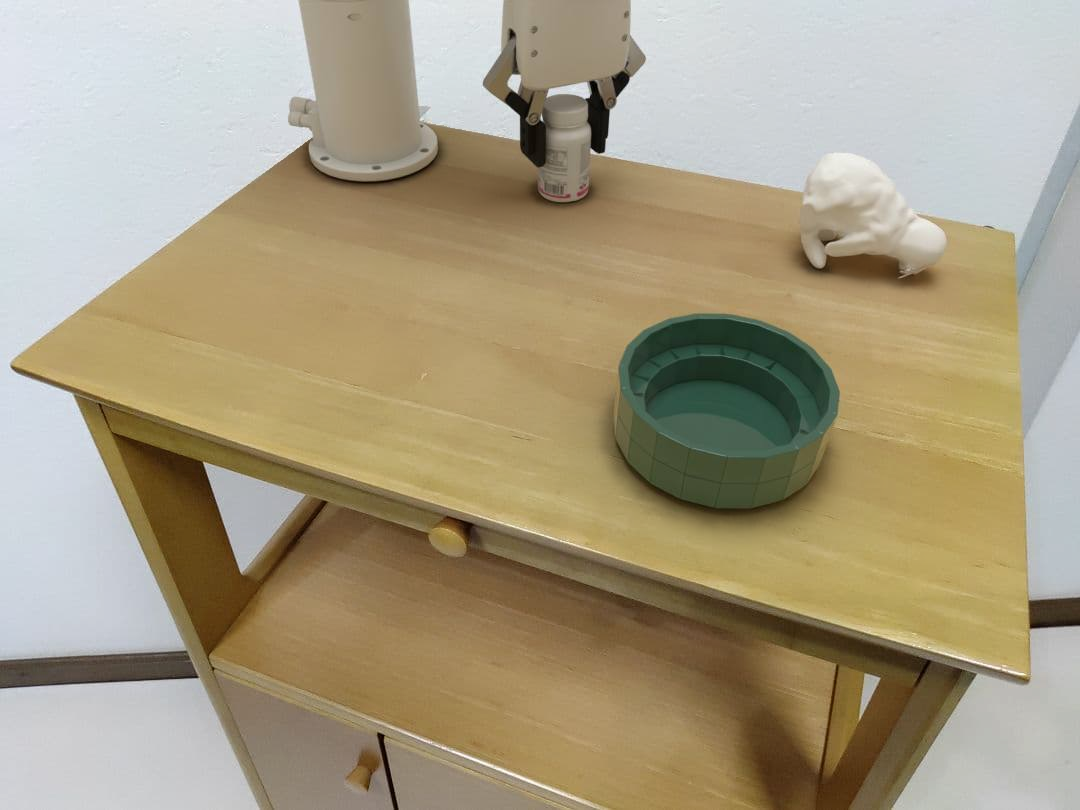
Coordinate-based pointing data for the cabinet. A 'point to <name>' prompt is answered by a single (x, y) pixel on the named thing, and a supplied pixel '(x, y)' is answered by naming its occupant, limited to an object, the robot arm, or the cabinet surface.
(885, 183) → the white irregular piece
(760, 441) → the bowl
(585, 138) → the pill bottle
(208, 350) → the cabinet surface
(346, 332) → the cabinet surface
